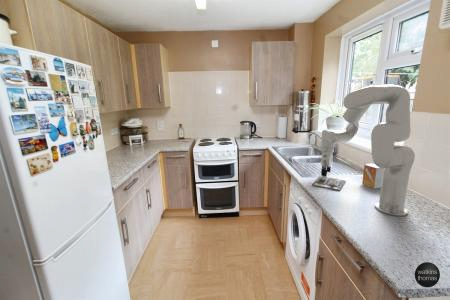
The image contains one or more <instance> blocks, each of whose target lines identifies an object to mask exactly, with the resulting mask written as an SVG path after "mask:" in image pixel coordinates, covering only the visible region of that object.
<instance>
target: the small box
mask: <svg viewBox="0 0 450 300" xmlns="http://www.w3.org/2000/svg"><path fill="white" fill-rule="evenodd" d="M384 169H385V168H380V167H378V166H376V165H375V163H365V164H364V167H363V175H362V185H363V186H366V187H369V188H372V189H373V190H374V189H379V188H380V189H381V184H382V177H383V172H384Z"/></svg>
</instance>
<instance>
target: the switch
mask: <svg viewBox="0 0 450 300" xmlns="http://www.w3.org/2000/svg"><path fill="white" fill-rule="evenodd" d="M330 178H331V184H330V186H334V187H336V185H337V184H336V181H337V179H338V177H335V176H331V177H330Z"/></svg>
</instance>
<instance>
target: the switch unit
mask: <svg viewBox="0 0 450 300" xmlns="http://www.w3.org/2000/svg"><path fill="white" fill-rule="evenodd" d="M331 178H332V177H327V180H326V181H321V179H322V176H321V175H319V176H318V177H317V178H316V179H315V180H314V182H312V183H311V187H316V188H320V189H325V190H329V191H335V192H341V190H342V188H343V187H344V185H345V184H346V180H345V179H344V180H343V179H338V178H337V181H336V184H337V185H336V187H334V186H330V184H331Z"/></svg>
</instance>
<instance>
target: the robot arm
mask: <svg viewBox="0 0 450 300" xmlns="http://www.w3.org/2000/svg"><path fill="white" fill-rule="evenodd" d="M342 103H343V106H344V108H346V110H345V112H344V113H343V115H342V117H343V120H345V122H347V123H348V124H347V126H345V128H344V129H340V130H334V129H323V130H322V132H321V141H320V142H321V144H320V145H321V146H320V151H321V164H320V165H321V171H320V172H321V175H320V176H321V177H322V176H327V175H328V173H331V168H332V167H331V166H332V165H333V159H334V155H333V153H334V151H335V144H340V143H347V142H350V141H351V140H353V138H354V137H355V136H356V134H357V133H358V130H359V127H360V125H359V122H360V120H361V119H362V117H363V116H364V115H365V113H366V112H367V111H368V109H369V108H370V107H371V105H385V104H386V105H387V104H388V106H387V108H386V110H385V122H384V121H383V122H380V123H377V124H376V125H375V126H374V127H373V129H372V130H371V134H370V141H371V142H370V143H371V158H372V162H373V164H375V165H376V166H378V167H380V168H384V172H383V177H382V184H381V187H380V194H379V200H378V202H376V203H375V204H374V207H375V209H376V210H378V211H380V212H381V213H383V214H387V215H390V216H395V217H396V216H397V217H404V216H407V215H408V214H409V210H408V208H406V207H405V203H406V197H407V191H408V184H409V180H410V179H409V178H410V174H411V171H412V170H411V169H412V167H413V165H414V162H415V160H416V159H415V156H416V154H415V151H414V150H413V149H412V148H411V147H409V146H408V145H404V144H396V143H402V142H404V141H407V140H408V139H409V138H410V136H411V114H410V113H411V111H410V110H411V95H410V93H409V91H408V90H407V88H405V87H403V86H401V85H397V84H396V85H394V84H382V85H380V84H379V85H375V84H374V85H369V86H366V87H363V88H360V89H357V90H353V91H351V92H349V93H347V94H346V95H345V97H343V101H342Z"/></svg>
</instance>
